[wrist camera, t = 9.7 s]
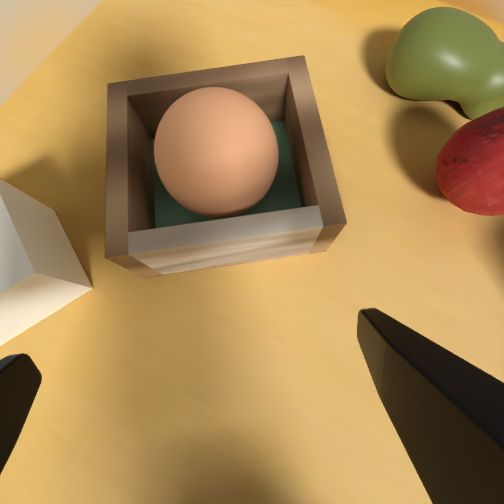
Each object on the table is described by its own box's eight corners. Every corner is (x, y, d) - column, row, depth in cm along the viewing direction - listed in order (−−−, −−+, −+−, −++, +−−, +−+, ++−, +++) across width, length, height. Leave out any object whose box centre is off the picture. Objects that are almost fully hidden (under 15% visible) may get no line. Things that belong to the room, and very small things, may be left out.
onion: (396, 200, 20) (480, 115, 12) (437, 145, 21) (538, 36, 13) (472, 249, 19) (620, 190, 11) (512, 189, 20) (672, 96, 12)
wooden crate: (325, 251, 19) (346, 223, 14) (145, 277, 19) (104, 257, 14) (295, 115, 22) (304, 55, 17) (141, 137, 22) (107, 83, 17)
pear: (425, -26, 18) (562, 30, 19) (379, 50, 23) (488, 93, 24) (410, 34, 17) (560, 94, 17) (365, 100, 22) (481, 146, 22)
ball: (239, 250, 19) (231, 218, 12) (154, 198, 19) (100, 139, 13) (292, 168, 20) (313, 95, 13) (210, 121, 20) (188, 28, 14)
